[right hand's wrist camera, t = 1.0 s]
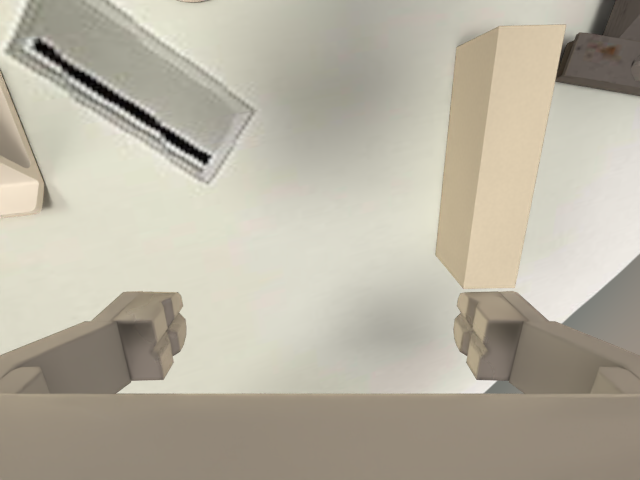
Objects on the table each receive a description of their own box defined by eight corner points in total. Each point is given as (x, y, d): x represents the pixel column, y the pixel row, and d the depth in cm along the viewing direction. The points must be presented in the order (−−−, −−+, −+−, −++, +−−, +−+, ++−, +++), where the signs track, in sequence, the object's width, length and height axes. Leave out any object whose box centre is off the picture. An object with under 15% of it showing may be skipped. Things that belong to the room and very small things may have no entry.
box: (456, 47, 41) (499, 25, 31) (507, 45, 41) (566, 24, 31) (435, 255, 50) (463, 288, 40) (477, 254, 50) (515, 287, 40)
